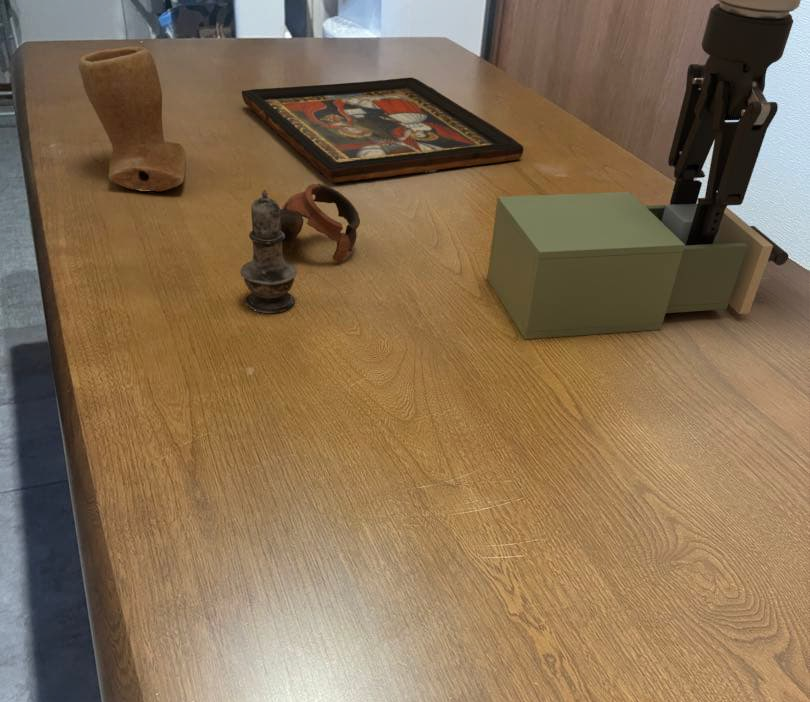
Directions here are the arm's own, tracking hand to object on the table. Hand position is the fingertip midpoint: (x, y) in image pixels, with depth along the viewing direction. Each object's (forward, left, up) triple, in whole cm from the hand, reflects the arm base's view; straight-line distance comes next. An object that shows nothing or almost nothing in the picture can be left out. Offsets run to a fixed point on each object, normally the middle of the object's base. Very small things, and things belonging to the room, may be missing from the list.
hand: (683, 250), depth 96 cm
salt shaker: (+23, +39, -6) cm, 46 cm away
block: (0, 0, 0) cm, 0 cm away
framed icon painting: (+60, -3, -6) cm, 61 cm away
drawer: (-1, -1, -5) cm, 5 cm away
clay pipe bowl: (+62, +35, -6) cm, 72 cm away
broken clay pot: (+31, +29, -6) cm, 43 cm away
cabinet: (+5, +11, -6) cm, 13 cm away
